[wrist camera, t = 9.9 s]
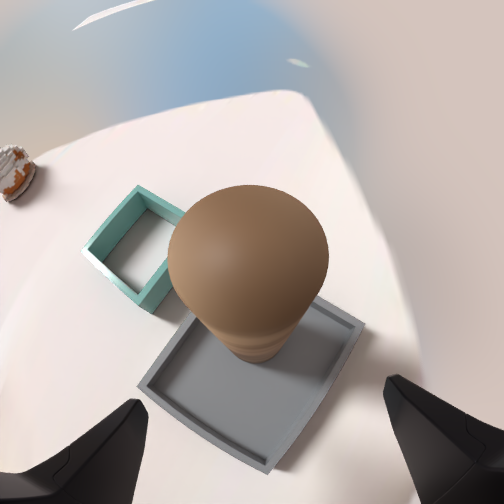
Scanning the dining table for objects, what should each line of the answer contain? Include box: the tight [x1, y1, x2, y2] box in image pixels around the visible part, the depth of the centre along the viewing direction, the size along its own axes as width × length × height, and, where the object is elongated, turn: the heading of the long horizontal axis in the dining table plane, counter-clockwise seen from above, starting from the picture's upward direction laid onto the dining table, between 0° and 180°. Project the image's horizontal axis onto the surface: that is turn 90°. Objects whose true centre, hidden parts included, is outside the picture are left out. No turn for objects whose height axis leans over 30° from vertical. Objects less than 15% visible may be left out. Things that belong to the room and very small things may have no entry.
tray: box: [137, 296, 365, 475], centre depth 19 cm, size 14×12×2 cm
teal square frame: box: [81, 185, 185, 314], centre depth 23 cm, size 9×9×3 cm
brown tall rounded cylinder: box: [167, 185, 329, 364], centre depth 14 cm, size 4×4×15 cm
